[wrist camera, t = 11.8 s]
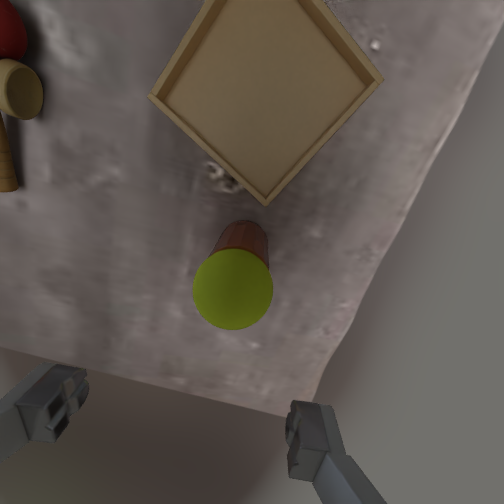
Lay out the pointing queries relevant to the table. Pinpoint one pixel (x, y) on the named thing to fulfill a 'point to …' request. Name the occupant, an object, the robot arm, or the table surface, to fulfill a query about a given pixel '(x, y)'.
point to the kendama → (14, 86)
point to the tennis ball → (232, 289)
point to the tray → (264, 86)
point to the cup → (244, 240)
